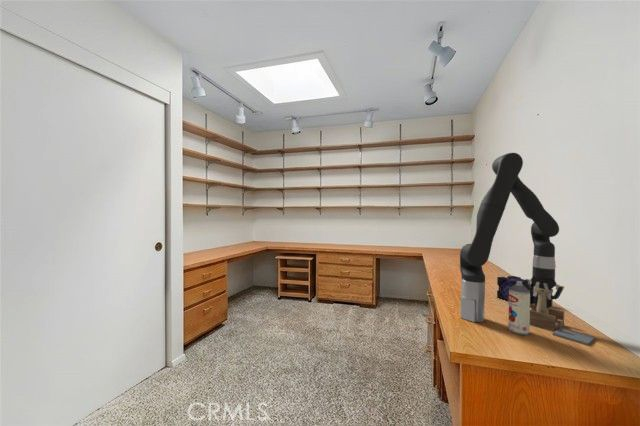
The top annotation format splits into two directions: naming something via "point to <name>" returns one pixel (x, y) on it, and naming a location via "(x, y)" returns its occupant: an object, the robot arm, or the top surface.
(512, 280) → the energy cube
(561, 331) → the mat
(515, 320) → the aerosol can
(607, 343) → the top surface
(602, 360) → the top surface
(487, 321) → the top surface
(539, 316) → the frame
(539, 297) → the handle
